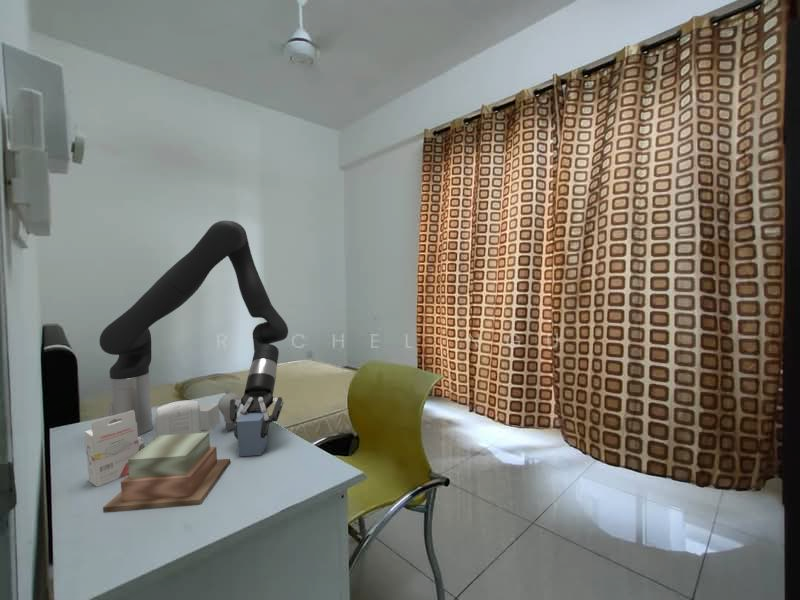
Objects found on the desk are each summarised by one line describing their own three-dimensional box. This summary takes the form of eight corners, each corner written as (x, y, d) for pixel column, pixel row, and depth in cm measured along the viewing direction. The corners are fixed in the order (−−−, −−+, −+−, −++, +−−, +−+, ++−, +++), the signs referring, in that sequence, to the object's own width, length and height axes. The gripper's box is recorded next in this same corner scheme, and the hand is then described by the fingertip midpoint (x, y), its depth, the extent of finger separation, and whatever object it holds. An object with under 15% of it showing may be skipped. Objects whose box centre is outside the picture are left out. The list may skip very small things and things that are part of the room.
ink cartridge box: (132, 463, 86) (127, 405, 86) (141, 469, 84) (137, 409, 83) (87, 481, 79) (82, 417, 78) (95, 488, 77) (90, 422, 76)
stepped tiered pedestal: (103, 512, 68) (100, 467, 68) (152, 468, 84) (149, 431, 84) (200, 504, 70) (198, 460, 70) (230, 462, 86) (228, 426, 86)
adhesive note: (189, 430, 105) (188, 411, 105) (201, 422, 111) (200, 403, 111) (209, 430, 105) (208, 410, 105) (220, 422, 111) (219, 403, 111)
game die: (144, 444, 97) (144, 434, 96) (145, 449, 94) (144, 439, 93) (128, 448, 95) (128, 437, 94) (128, 454, 92) (127, 442, 91)
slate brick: (238, 456, 89) (236, 421, 88) (245, 446, 94) (244, 413, 93) (261, 454, 89) (259, 420, 89) (266, 444, 95) (265, 412, 94)
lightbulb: (216, 430, 105) (214, 394, 104) (237, 423, 110) (235, 389, 109) (224, 436, 101) (222, 398, 100) (245, 429, 105) (243, 393, 105)
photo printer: (201, 438, 100) (198, 395, 99) (202, 444, 96) (200, 400, 96) (157, 448, 94) (154, 403, 93) (157, 455, 91) (154, 408, 90)
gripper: (231, 372, 97) (216, 434, 86) (285, 370, 99) (276, 430, 87) (239, 385, 103) (225, 444, 92) (289, 383, 104) (282, 441, 93)
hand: (250, 437), depth 90 cm, fingers closed on slate brick, 5 cm apart
